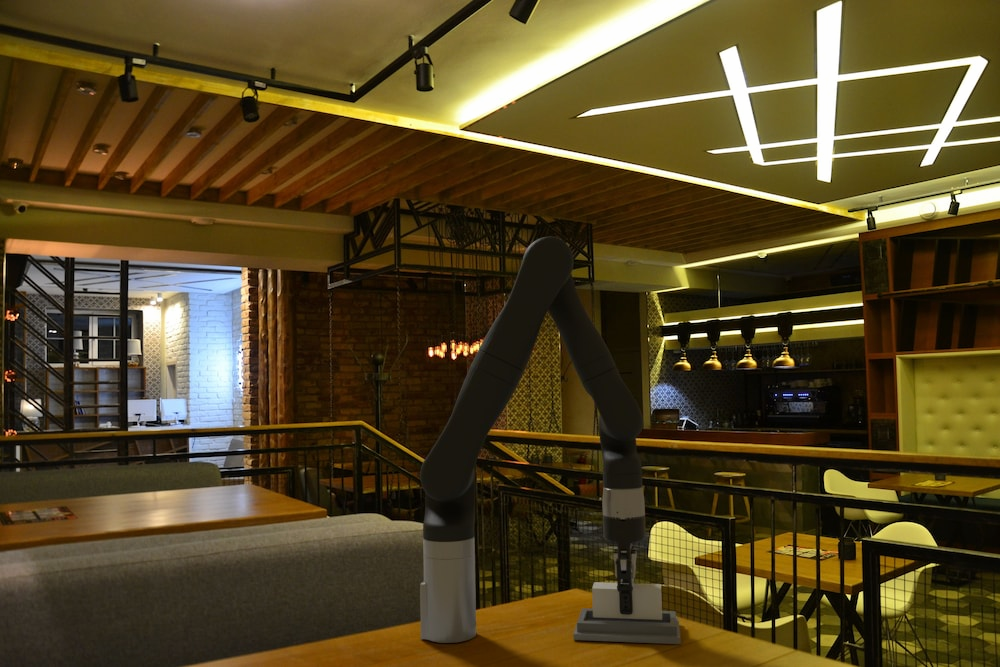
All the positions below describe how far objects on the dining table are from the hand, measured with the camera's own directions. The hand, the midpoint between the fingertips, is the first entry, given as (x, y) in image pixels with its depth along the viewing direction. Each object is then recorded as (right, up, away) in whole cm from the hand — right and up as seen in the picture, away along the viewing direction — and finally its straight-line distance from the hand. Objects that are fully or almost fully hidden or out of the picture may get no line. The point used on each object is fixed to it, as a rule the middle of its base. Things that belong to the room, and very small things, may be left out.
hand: (626, 609), depth 138 cm
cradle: (0, -4, 0) cm, 4 cm away
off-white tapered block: (0, -1, 0) cm, 1 cm away
